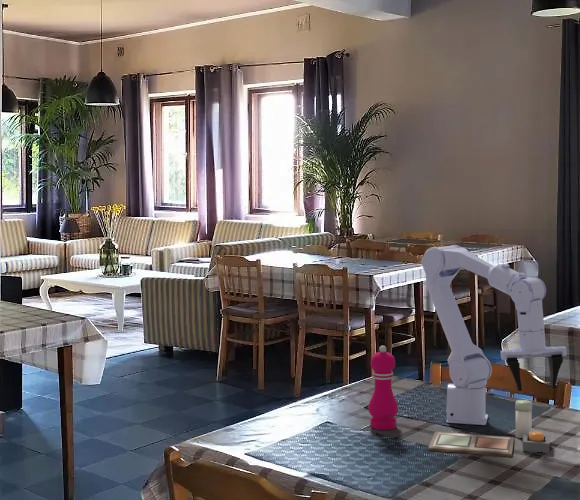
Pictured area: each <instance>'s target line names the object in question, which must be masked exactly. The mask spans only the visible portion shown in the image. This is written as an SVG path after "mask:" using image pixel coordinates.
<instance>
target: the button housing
mask: <svg viewBox="0 0 580 500" xmlns="http://www.w3.org/2000/svg"><path fill="white" fill-rule="evenodd" d="M550 440H551V439H550V435H544V442H537V441H529V434H524V436H523V439H522V452H524V451H527V452H529V453H537V452H543V453H542V454H550Z"/></svg>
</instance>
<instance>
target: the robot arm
mask: <svg viewBox="0 0 580 500" xmlns="http://www.w3.org/2000/svg"><path fill="white" fill-rule="evenodd" d="M421 266H422V268H423V271H424V273H425V285H426V288H427V291H428V293H429V297H430V298H431V301H432V304H433V307H434V308H435V311H436V314H437V318H438V319H439V322H440V324H441V327H442V330H443V333H444V335H445V337H446V340H447V342H448V345H449V347H450V350H451V352H450V354H449V355H448V358H447V359H446V360H447V364H448V368H449V377H450V380H451V382H453V383H449V384H447V389H446V408H445V409H446V421H445V422H446V423H448V424H449V423H450V424H463V425H464V424H465V425H476V426H477V425H478V426H480V425H481V426H486V425H487V422H488V418H489V414H487V413H486V390H487V389H486V386H487V384H488V379H489V378H491V375H492V372H493V368H492V364H491V362H490V360H489V359H488V358H487V356H485V354H484V352H483V350H482V349H481V347H479V346H478V345H475V344H474V343H473V341H472V338H471V336H470V333H469V330H468V328H467V326H466V323H465V320H464V317H463V316H462V312H461V311H460V308H459V306H458V303H457V300H456V298H455V295H454V293H453V290H452V288H451V284H452V281H453V279H454V278H455V276H456V275H457V274H458V273H459V272H460V271H461V269H465V270H467V271H469V272H471V273H474V274H476V275H478V276H480V277H483V278H485V279H487V282H488V284H489V286H491V287H492V288H494V289H496V290H498V291H501V292H502V293H504V294H506V295H508V296H510V298H511V300H512V301H513V302H514V306H515V310H516V314H517V315H516V316H517V325H518V337H519V338H518V339H519V348H515V349H507V350H500V357H501V360H502V361H505V363H506V364H507V366H508V368H509V369H510V372H511V373H512V376H513V378H514V381H515V384H516V389H517V391H518V392H521V391H522V390H523V388H522V382H521V381H522V380H521V372H520V371H521V367H520V365H521V364H520V363H521V362H519V360H520V359H530V358H548V359H547V360H548V366H549V374H550V375H549V377H550V379H549V380H550V387H551V388H552V389H557V379H558V376H559V371H560V369H561V367H562V364H563V361H564V356H565V357H567V355H568V353H567V347H566V346H563V345H562V346H561V345H560V346H546V334H545V333H546V332H545V322H544V310H543V299H544V298H545V297H546V295H547V288H546V287H547V286H546V284H545V282H544V281H543V280H542V279H540V278H539V277H538V276H530V277H528V276H526V275H527V274H526V273H524V272H518V271H517V270H514V269H513V268H510V267H511V266H510V264H508V263H502V264H501V263H500V264H498V263H497V264H496V265H493V264H492V263H489V262H488V261H486V260H484V259H483V258H480V257H479V256H477V255H475V254H474V253H472V252H470V251H469V250H467V248H466V247H465V248H464V247H462V246H460V245H458V244H451V245H447V246H438V247H435V246H433V247H428V248H427V249H426V250H425V251H424V254H423V256H422V259H421Z"/></svg>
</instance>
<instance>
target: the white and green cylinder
mask: <svg viewBox="0 0 580 500" xmlns="http://www.w3.org/2000/svg"><path fill="white" fill-rule="evenodd" d="M514 405H515V408H514V409H515V433H514V434H515V436H514V437H516V438H517V439H520V438H522V439H521V440H523V436H524V434H529V432H532V429H533V428H532V427H533V426H532V422H533V421H532V419H533V412H532V410H533V402H532V401H531V400H528V399H518V400H516V401H515V404H514Z"/></svg>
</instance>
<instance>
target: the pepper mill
mask: <svg viewBox="0 0 580 500" xmlns="http://www.w3.org/2000/svg"><path fill="white" fill-rule="evenodd" d="M395 359H396V358H395V356H394V355H393V354H392V353H391V352H389V351H387V347H386V346H385V345H380V346H379V348H378V352H375V353H374V354H373V355H372V356H371V359H370V366H371V368H372V370H373V371H372V378H373V379H374V390H373V394H372V395H371V397H370V400H369V403H368V413H369V415H370V416H371V418H370V424H369V425H370V427H371V428H372V429H375V430H379V431H388V430H389V431H390V430H393V429H395V428H396V427H397V418H395V417H396V415H397V414H398V413H399V405H398V402H397V399H396V398H395V395H394V393H393V392H394V391H393V389H392V379H393V378H394V372H393V370H394V369H395V366H396V360H395Z"/></svg>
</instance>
